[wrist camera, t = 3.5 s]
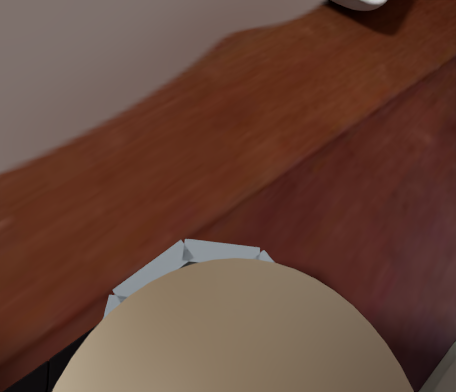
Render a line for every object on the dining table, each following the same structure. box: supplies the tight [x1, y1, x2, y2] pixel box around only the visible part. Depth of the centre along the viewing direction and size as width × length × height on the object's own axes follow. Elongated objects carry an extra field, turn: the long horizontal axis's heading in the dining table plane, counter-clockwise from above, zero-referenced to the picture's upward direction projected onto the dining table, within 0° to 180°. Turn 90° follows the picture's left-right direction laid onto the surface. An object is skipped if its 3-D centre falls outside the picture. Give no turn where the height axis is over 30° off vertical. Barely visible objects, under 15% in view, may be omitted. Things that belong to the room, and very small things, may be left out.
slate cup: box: [103, 239, 274, 319], centre depth 13 cm, size 9×9×4 cm
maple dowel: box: [52, 258, 414, 392], centre depth 9 cm, size 4×4×13 cm
